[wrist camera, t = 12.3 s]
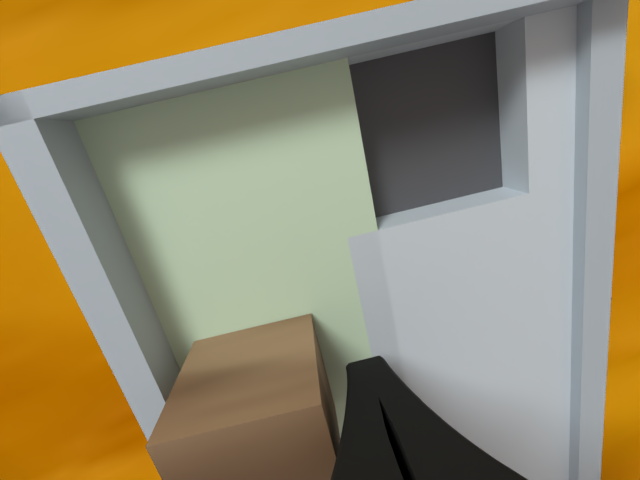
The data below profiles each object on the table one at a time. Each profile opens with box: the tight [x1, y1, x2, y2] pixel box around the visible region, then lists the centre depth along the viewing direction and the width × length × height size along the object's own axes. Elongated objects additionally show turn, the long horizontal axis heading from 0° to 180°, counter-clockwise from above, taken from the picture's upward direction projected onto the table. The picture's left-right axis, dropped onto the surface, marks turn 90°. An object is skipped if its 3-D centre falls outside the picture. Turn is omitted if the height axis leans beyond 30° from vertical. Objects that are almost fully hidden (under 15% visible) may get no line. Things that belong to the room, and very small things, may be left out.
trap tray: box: [0, 0, 629, 480], centre depth 13 cm, size 24×16×3 cm, turn 13°
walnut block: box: [146, 313, 340, 480], centre depth 10 cm, size 4×4×4 cm
